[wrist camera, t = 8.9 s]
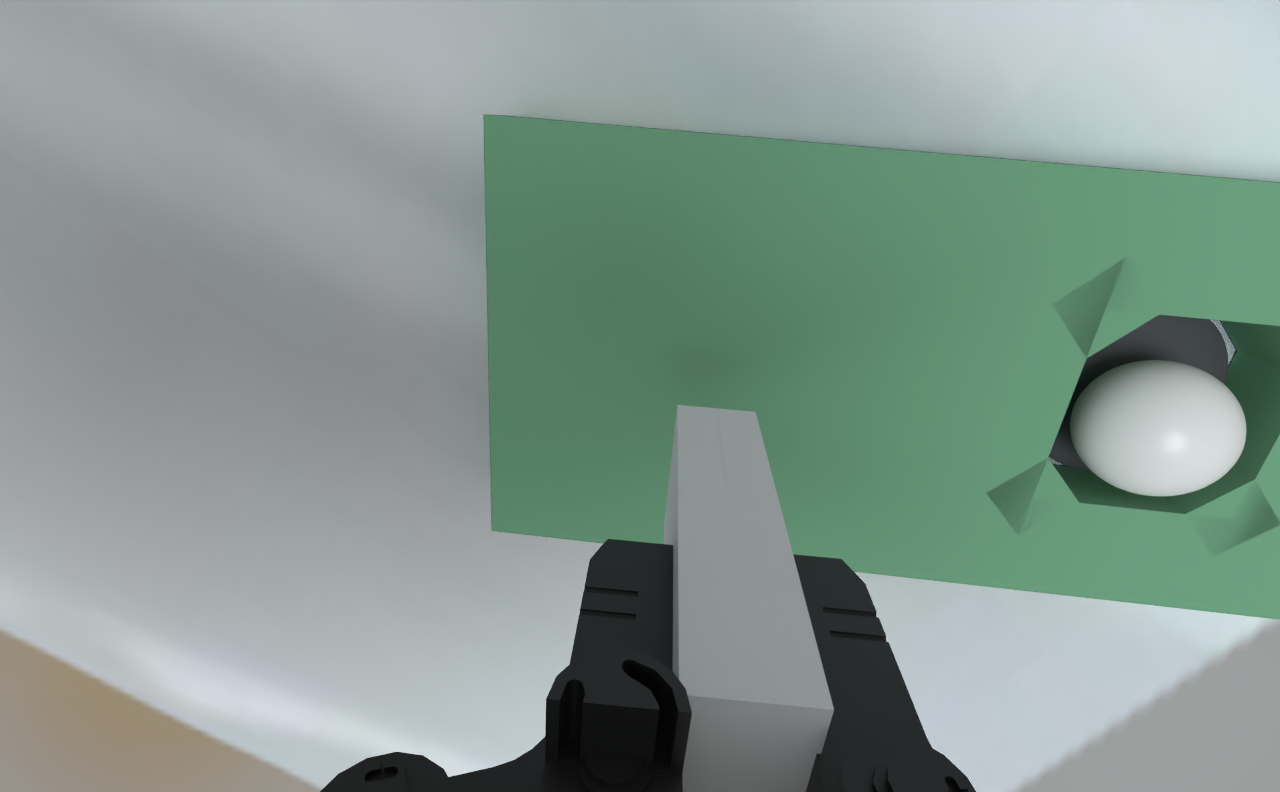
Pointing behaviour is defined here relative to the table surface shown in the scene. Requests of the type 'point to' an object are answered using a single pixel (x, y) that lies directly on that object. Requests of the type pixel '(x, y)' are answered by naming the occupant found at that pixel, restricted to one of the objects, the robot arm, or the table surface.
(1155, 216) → the green
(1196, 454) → the ball
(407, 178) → the table surface
